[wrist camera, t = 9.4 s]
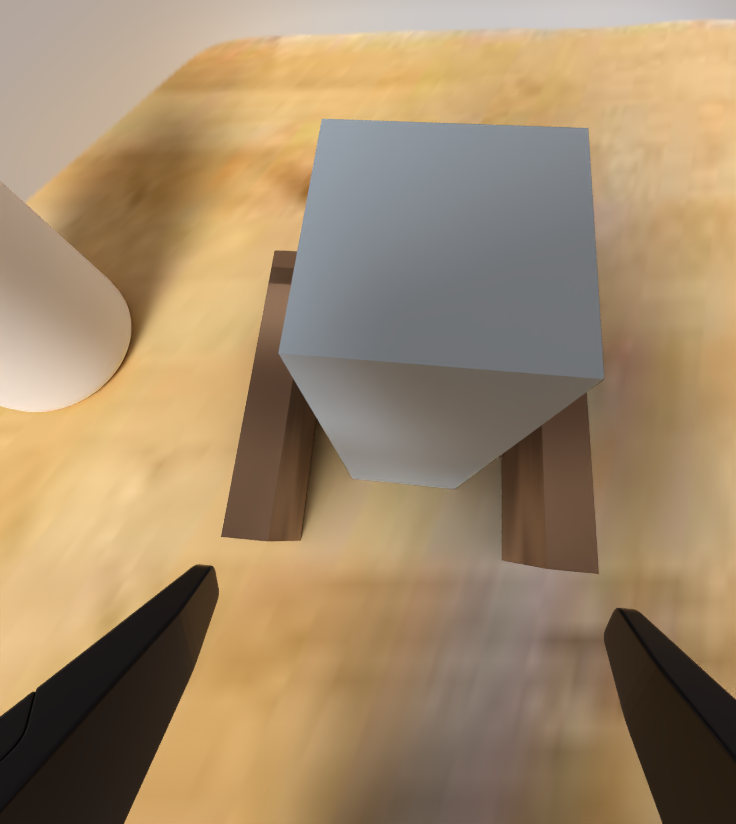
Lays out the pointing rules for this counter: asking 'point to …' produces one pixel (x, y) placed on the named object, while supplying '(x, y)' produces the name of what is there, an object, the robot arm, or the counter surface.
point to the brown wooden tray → (293, 442)
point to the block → (443, 292)
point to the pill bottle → (53, 316)
